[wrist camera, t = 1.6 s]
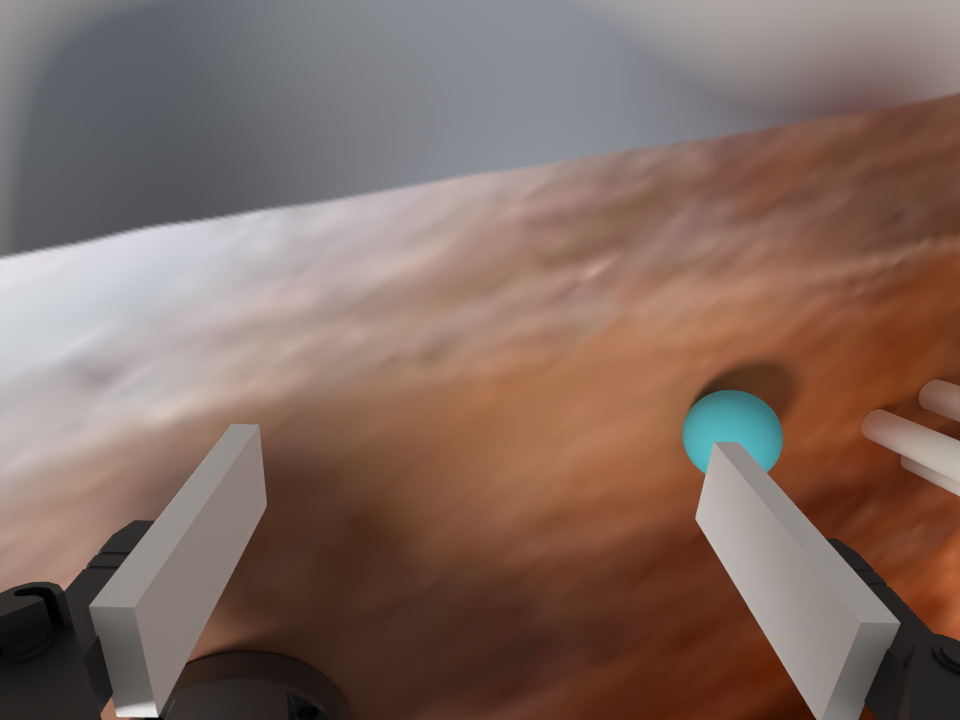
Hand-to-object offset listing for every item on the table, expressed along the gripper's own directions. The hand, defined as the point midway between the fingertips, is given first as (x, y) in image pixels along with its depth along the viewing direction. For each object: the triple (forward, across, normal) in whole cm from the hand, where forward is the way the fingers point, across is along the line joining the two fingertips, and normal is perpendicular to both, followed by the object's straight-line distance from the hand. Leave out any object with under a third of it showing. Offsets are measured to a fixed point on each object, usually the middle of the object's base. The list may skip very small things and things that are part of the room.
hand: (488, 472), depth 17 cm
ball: (+18, -17, +8) cm, 26 cm away
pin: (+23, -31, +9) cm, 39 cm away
